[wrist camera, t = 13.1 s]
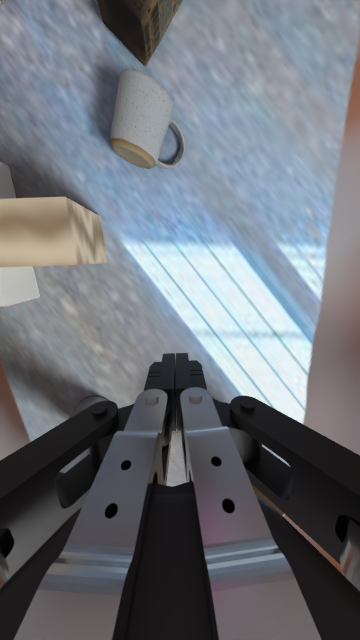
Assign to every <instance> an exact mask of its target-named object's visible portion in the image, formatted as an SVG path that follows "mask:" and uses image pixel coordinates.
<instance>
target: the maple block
mask: <svg viewBox="0 0 360 640" xmlns="http://www.w3.org/2000/svg"><path fill="white" fill-rule="evenodd" d="M97 263H107V261H106V254H105V246H104V239H103V232H102V224H101V217H100V216H99V215H97V214H95V213H94V212H92V211H90V210H88V209H86V208H85V207H83V206H81V205H79V204H77V203H76V202H74V201H72V200H70V199H68V198H67V197H40V198H11V199H0V268H1V267H28V266H56V265H81V264H97Z"/></svg>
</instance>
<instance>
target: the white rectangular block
mask: <svg viewBox="0 0 360 640" xmlns="http://www.w3.org/2000/svg"><path fill="white" fill-rule="evenodd" d="M11 198H16V194H15V190H14V186H13V182H12V177H11V173H10V169H9V166H8V165H6V164H4V163H2V162H0V199H11ZM39 297H40V295H39V291H38V286H37V282H36V278H35V274H34V270H33V266H28V267H1V268H0V306H10V305H14V304H17V303H21V302H24V301H28V300H32V299H35V298H39Z"/></svg>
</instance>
